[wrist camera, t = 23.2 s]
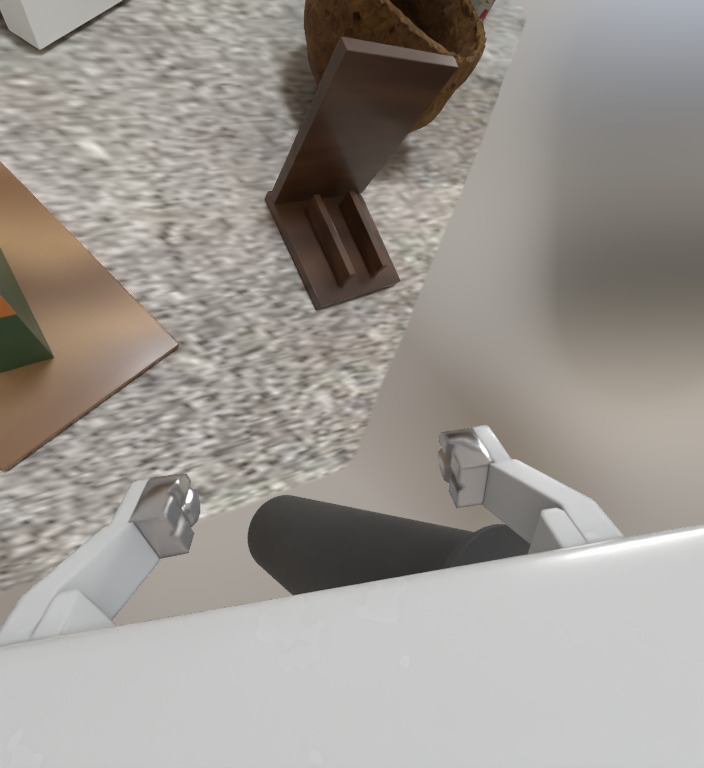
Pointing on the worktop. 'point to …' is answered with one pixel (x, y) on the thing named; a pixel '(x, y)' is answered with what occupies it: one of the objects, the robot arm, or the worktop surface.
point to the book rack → (350, 164)
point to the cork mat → (65, 327)
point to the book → (18, 325)
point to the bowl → (398, 34)
